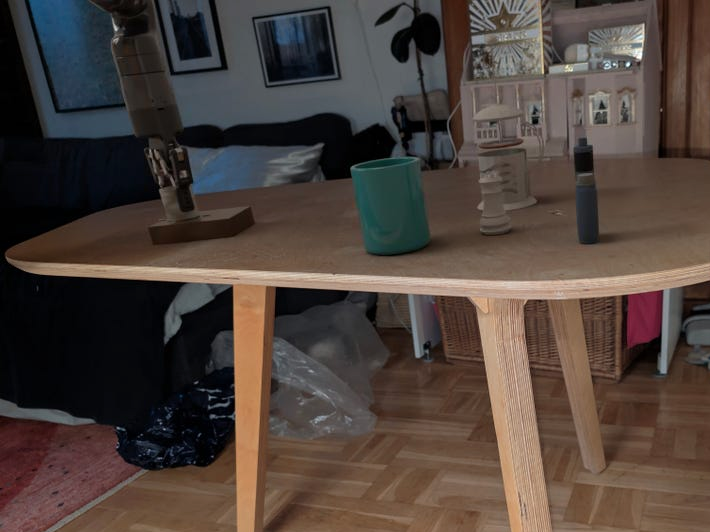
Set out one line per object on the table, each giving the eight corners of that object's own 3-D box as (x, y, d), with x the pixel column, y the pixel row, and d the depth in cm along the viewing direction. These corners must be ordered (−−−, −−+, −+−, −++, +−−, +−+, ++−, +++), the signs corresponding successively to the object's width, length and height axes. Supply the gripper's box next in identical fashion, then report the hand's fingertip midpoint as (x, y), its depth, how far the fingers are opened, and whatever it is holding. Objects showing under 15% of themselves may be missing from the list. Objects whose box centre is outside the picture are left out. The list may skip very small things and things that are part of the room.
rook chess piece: (494, 226, 100) (488, 169, 97) (518, 228, 97) (512, 169, 94) (473, 234, 97) (466, 175, 94) (497, 236, 94) (490, 176, 91)
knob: (162, 222, 117) (152, 189, 115) (176, 215, 122) (167, 184, 120) (191, 219, 117) (182, 186, 115) (204, 212, 122) (196, 180, 119)
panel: (149, 245, 117) (143, 226, 115) (176, 231, 126) (171, 213, 125) (233, 236, 115) (228, 217, 114) (254, 222, 124) (250, 205, 123)
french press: (488, 198, 120) (471, 38, 110) (554, 195, 116) (542, 29, 106) (468, 212, 111) (447, 40, 101) (538, 209, 107) (524, 30, 97)
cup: (443, 231, 101) (432, 151, 97) (421, 254, 90) (407, 165, 86) (384, 235, 103) (371, 157, 99) (355, 258, 92) (339, 171, 88)
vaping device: (597, 232, 90) (592, 136, 85) (600, 243, 85) (595, 141, 80) (577, 234, 90) (571, 138, 86) (578, 245, 86) (572, 143, 81)
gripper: (114, 109, 115) (146, 211, 122) (142, 106, 105) (174, 218, 112) (160, 103, 120) (188, 202, 126) (191, 100, 109) (219, 208, 116)
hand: (181, 209), depth 119 cm, fingers closed on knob, 5 cm apart
